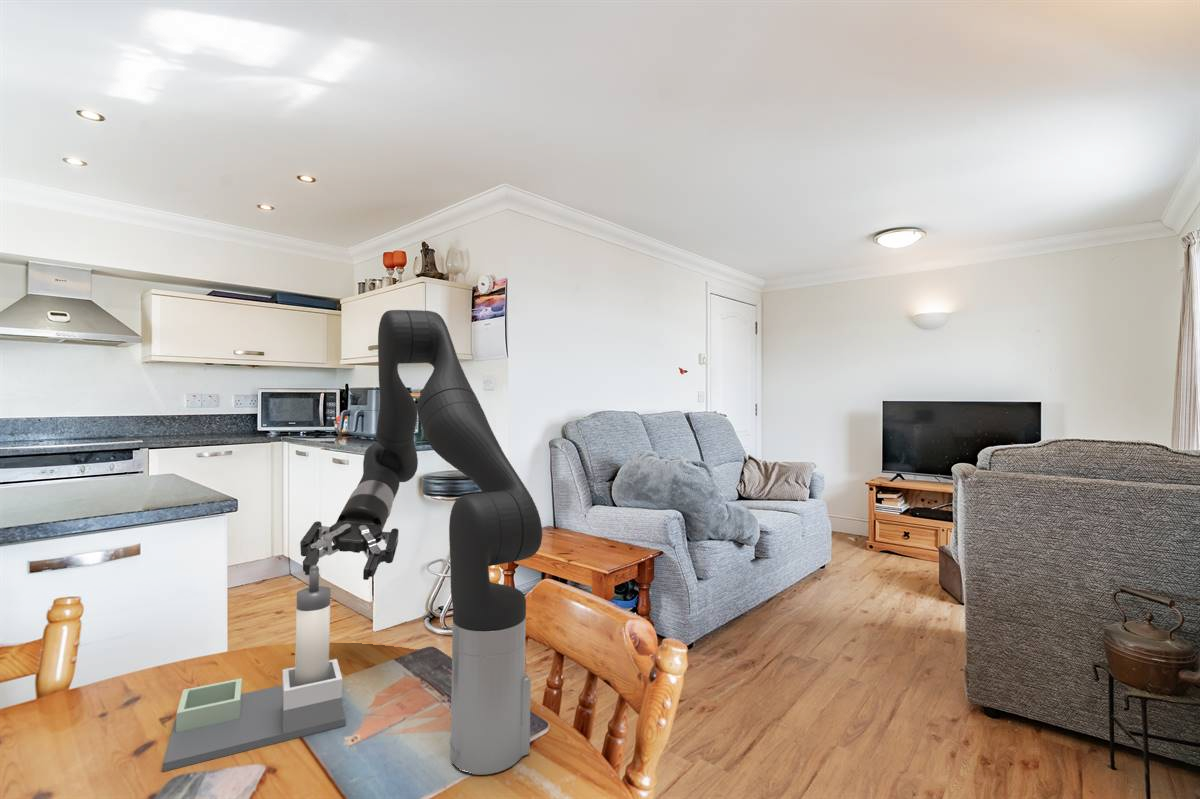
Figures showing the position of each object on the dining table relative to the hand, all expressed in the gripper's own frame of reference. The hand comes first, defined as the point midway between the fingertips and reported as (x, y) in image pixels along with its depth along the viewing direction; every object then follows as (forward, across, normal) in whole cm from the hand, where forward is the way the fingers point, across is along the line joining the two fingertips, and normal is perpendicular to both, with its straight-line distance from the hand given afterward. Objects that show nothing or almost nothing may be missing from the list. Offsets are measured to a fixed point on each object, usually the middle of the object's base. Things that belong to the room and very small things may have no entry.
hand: (336, 573), depth 87 cm
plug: (+13, +1, +9) cm, 16 cm away
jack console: (+14, -6, +14) cm, 21 cm away
